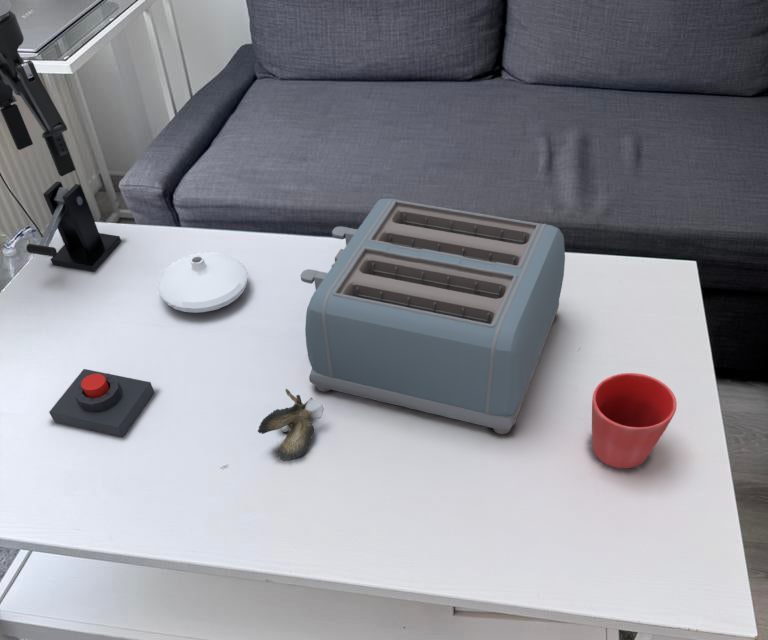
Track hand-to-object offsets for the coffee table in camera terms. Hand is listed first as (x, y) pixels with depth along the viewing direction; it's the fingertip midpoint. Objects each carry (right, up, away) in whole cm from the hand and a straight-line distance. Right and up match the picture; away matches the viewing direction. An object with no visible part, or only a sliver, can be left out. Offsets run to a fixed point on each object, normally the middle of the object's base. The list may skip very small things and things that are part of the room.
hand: (45, 159), depth 125 cm
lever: (-1, -9, +7) cm, 11 cm away
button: (+13, -41, -12) cm, 45 cm away
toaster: (+64, -33, -4) cm, 72 cm away
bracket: (0, -10, +16) cm, 19 cm away
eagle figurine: (+44, -48, -15) cm, 67 cm away
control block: (+13, -43, -9) cm, 46 cm away
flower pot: (+90, -50, -19) cm, 105 cm away
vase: (+25, -21, +7) cm, 34 cm away
